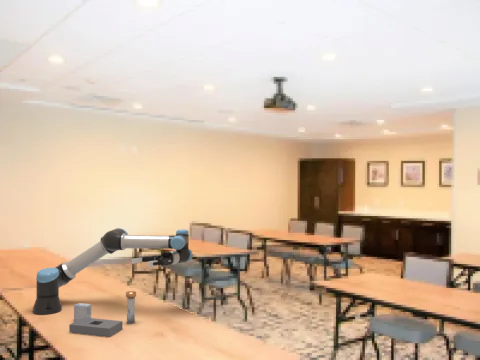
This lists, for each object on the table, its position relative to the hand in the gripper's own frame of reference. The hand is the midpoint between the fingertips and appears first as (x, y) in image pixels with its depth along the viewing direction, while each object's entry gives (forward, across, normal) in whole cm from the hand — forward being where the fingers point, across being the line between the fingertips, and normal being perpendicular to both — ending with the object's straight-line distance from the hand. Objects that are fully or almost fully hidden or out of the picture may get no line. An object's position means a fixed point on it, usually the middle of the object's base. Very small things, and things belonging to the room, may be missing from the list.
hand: (139, 263), depth 239 cm
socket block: (+26, 0, -30) cm, 40 cm away
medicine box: (+22, +19, -30) cm, 42 cm away
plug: (+8, -3, -30) cm, 31 cm away
